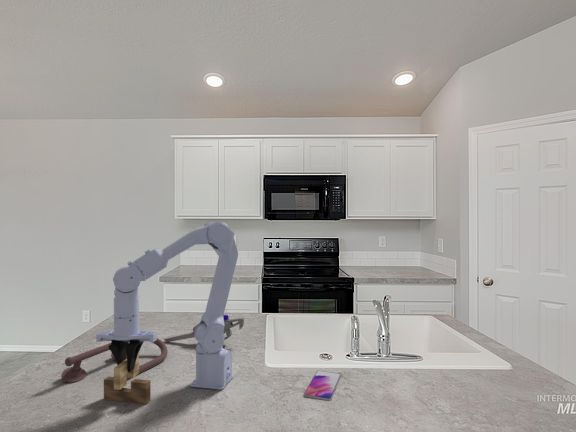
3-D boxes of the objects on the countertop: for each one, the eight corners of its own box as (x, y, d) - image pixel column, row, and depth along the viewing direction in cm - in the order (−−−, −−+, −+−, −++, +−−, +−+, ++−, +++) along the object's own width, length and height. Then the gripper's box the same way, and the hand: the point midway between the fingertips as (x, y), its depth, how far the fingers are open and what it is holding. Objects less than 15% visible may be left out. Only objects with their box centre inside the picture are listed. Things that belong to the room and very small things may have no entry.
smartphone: (341, 373, 99) (331, 399, 84) (341, 376, 99) (331, 402, 84) (317, 369, 101) (302, 394, 87) (317, 372, 101) (302, 397, 87)
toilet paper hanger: (100, 389, 88) (60, 352, 95) (92, 412, 89) (54, 374, 96) (178, 351, 114) (143, 324, 121) (172, 369, 115) (137, 341, 122)
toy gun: (245, 342, 122) (242, 313, 123) (163, 350, 127) (159, 322, 128) (247, 340, 124) (243, 312, 124) (165, 348, 129) (162, 321, 129)
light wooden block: (132, 373, 91) (133, 353, 91) (138, 373, 91) (138, 354, 91) (113, 389, 82) (113, 368, 82) (120, 389, 82) (120, 368, 82)
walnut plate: (150, 400, 85) (150, 380, 86) (146, 404, 84) (146, 383, 84) (108, 396, 88) (108, 376, 88) (103, 399, 86) (103, 379, 86)
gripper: (161, 311, 90) (162, 363, 90) (107, 311, 91) (107, 363, 90) (149, 318, 83) (149, 376, 83) (90, 318, 84) (91, 375, 83)
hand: (126, 370), depth 86 cm, fingers closed on light wooden block, 2 cm apart
